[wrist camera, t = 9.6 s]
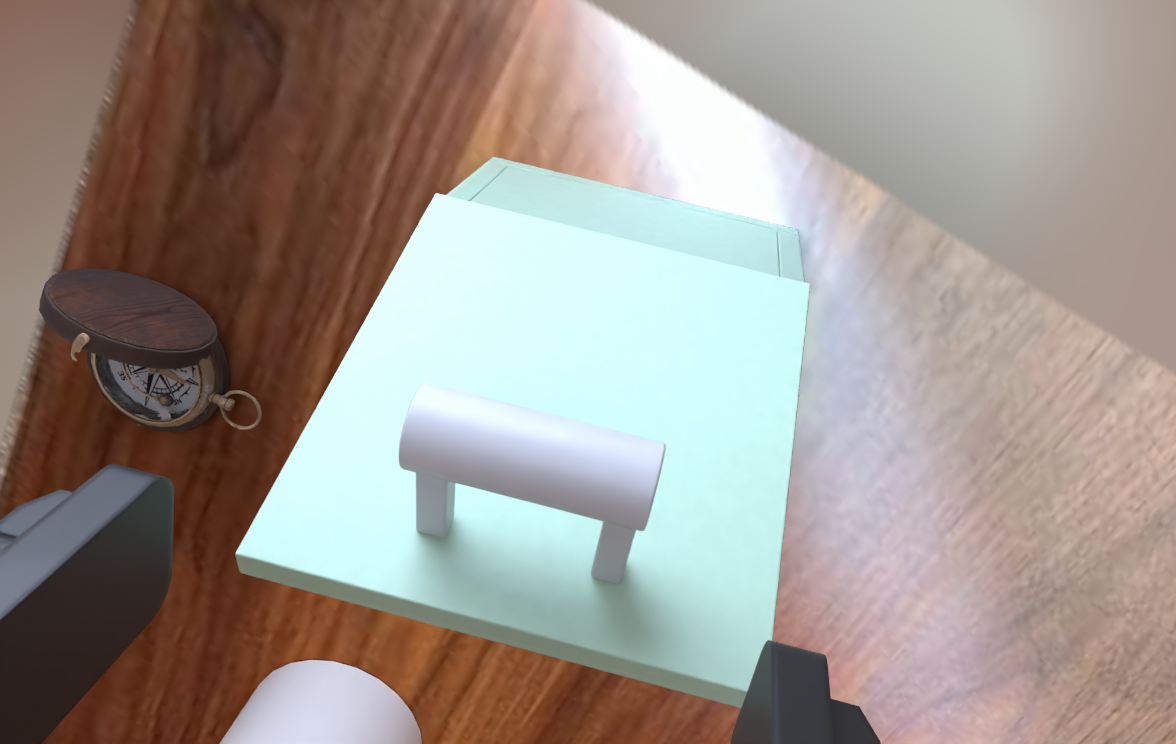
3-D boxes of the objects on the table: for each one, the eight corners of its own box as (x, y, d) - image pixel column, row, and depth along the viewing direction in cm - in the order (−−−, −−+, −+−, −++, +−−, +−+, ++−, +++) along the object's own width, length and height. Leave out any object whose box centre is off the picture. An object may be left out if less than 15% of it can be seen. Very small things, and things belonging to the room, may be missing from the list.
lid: (757, 713, 21) (827, 593, 18) (238, 573, 22) (202, 429, 18) (803, 302, 30) (856, 166, 27) (434, 213, 31) (436, 68, 27)
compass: (85, 386, 44) (-34, 465, 38) (125, 232, 41) (3, 288, 34) (249, 467, 45) (160, 559, 38) (303, 320, 41) (215, 393, 35)
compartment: (712, 515, 42) (704, 614, 36) (446, 446, 42) (392, 532, 36) (798, 229, 37) (806, 288, 30) (492, 155, 37) (439, 199, 31)
